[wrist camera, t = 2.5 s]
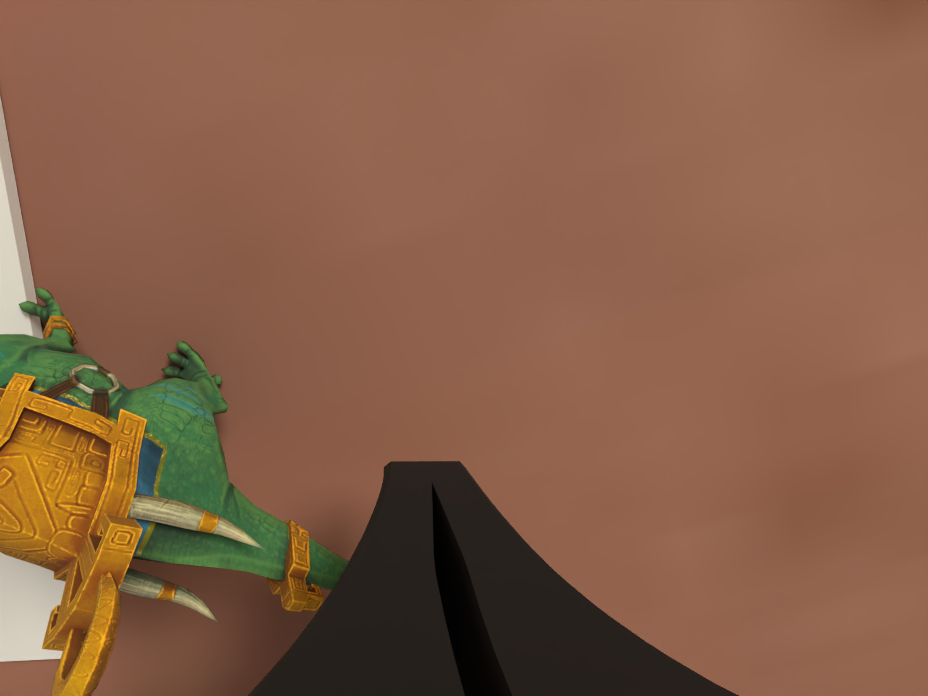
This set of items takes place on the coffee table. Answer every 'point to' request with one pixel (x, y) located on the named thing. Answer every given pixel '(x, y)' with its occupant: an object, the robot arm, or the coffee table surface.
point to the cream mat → (6, 286)
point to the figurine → (127, 492)
